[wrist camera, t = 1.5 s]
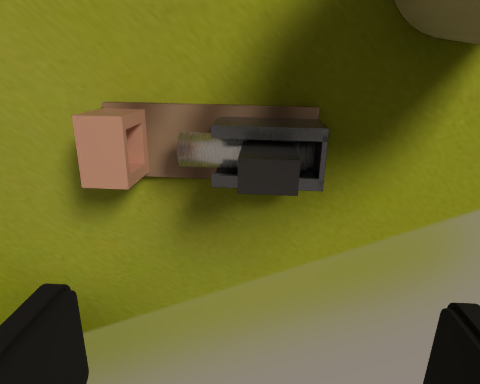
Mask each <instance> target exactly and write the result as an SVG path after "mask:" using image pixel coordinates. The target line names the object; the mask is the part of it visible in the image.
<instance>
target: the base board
mask: <svg viewBox="0 0 480 384" xmlns="http://www.w3.org/2000/svg"><path fill="white" fill-rule="evenodd" d="M102 106H103V108H117V109H145V120H146V134H147V148H148V162H149V172H148V173H147V174H146V175H145V176H151V177H178V178H205V179H211V175H212V173H215V172H216V170H217V168H206V167H180V166H179V164H178V159H177V141H178V136H179V133H180V132H207V133H211V125H212V124H213V123H214V122H215V121H216V120H217V119H218V118H219V117H256V118H295V119H319V112H320V108H319V107H308V106H265V105H223V104H180V103H137V102H103V103H102Z"/></svg>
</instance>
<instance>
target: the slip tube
mask: <svg viewBox="0 0 480 384" xmlns="http://www.w3.org/2000/svg"><path fill="white" fill-rule="evenodd" d="M177 159H178V164H179V166H180V167H206V168H234V169H238V185H237V193H238V194H263V195H289V196H298V187H299V174H300V171H311V170H312V167H313V161H314V141H285V140H251V139H218V138H211V133H207V132H180V133H179V136H178V141H177Z"/></svg>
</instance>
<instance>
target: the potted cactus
mask: <svg viewBox="0 0 480 384" xmlns="http://www.w3.org/2000/svg"><path fill="white" fill-rule="evenodd" d="M394 1H395V4H396V6H397V8H398V10H399V11H400V13H401V15H402V16H403V17H404V18H405V20H406V21H407V22H408V23H409V24H410V25H411V26H413V27H414V28H416V29H417V30H418V31H420V32H421V33H425V34H427V35H430V36H431V37H434V38H441V39H446V40H453V41H460V42H466V43H473V44H479V45H480V0H394Z"/></svg>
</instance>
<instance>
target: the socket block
mask: <svg viewBox="0 0 480 384" xmlns="http://www.w3.org/2000/svg"><path fill="white" fill-rule="evenodd" d="M72 120H73V127H74V134H75V141H76V149H77V156H78V163H79V170H80V177H81V184H82V188H104V189H130V188H131V187H132V186H133V185H134V184H135V183H136V182H138V181H139V180H140V179H141V178H142V177H143V176H145V175H146V174H147V173H148V172H149V162H148V148H147V134H146V120H145V109H117V108H101V109H97V110H93V111H88V112H84V113H79V114H75V115H72Z"/></svg>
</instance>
